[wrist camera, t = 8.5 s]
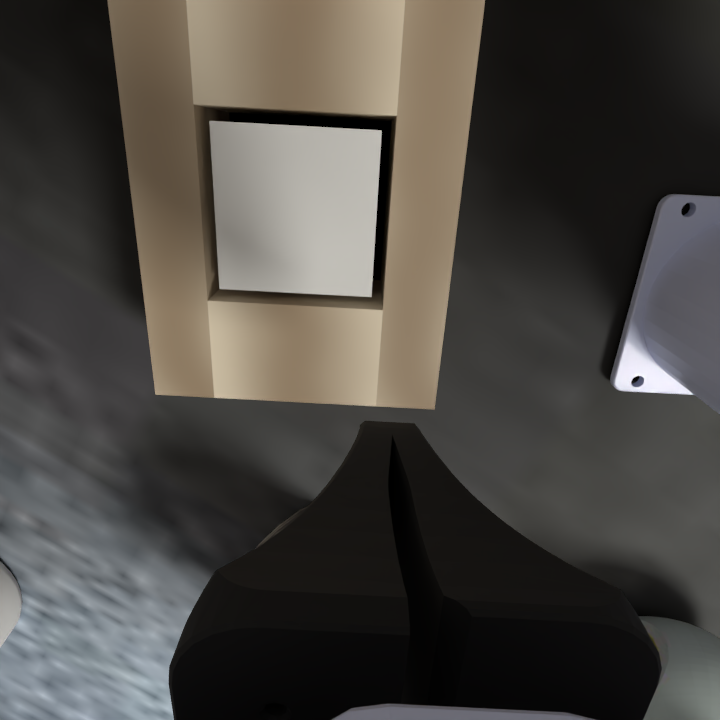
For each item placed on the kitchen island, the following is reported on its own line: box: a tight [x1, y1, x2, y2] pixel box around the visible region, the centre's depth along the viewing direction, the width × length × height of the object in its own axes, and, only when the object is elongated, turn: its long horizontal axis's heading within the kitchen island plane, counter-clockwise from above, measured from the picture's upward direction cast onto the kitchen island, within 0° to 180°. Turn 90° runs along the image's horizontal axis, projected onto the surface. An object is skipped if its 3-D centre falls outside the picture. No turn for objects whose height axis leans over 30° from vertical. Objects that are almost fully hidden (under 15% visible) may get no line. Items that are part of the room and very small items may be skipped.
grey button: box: [209, 121, 382, 297], centre depth 17 cm, size 5×5×3 cm
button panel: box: [108, 0, 485, 409], centre depth 15 cm, size 10×23×4 cm, turn 177°
